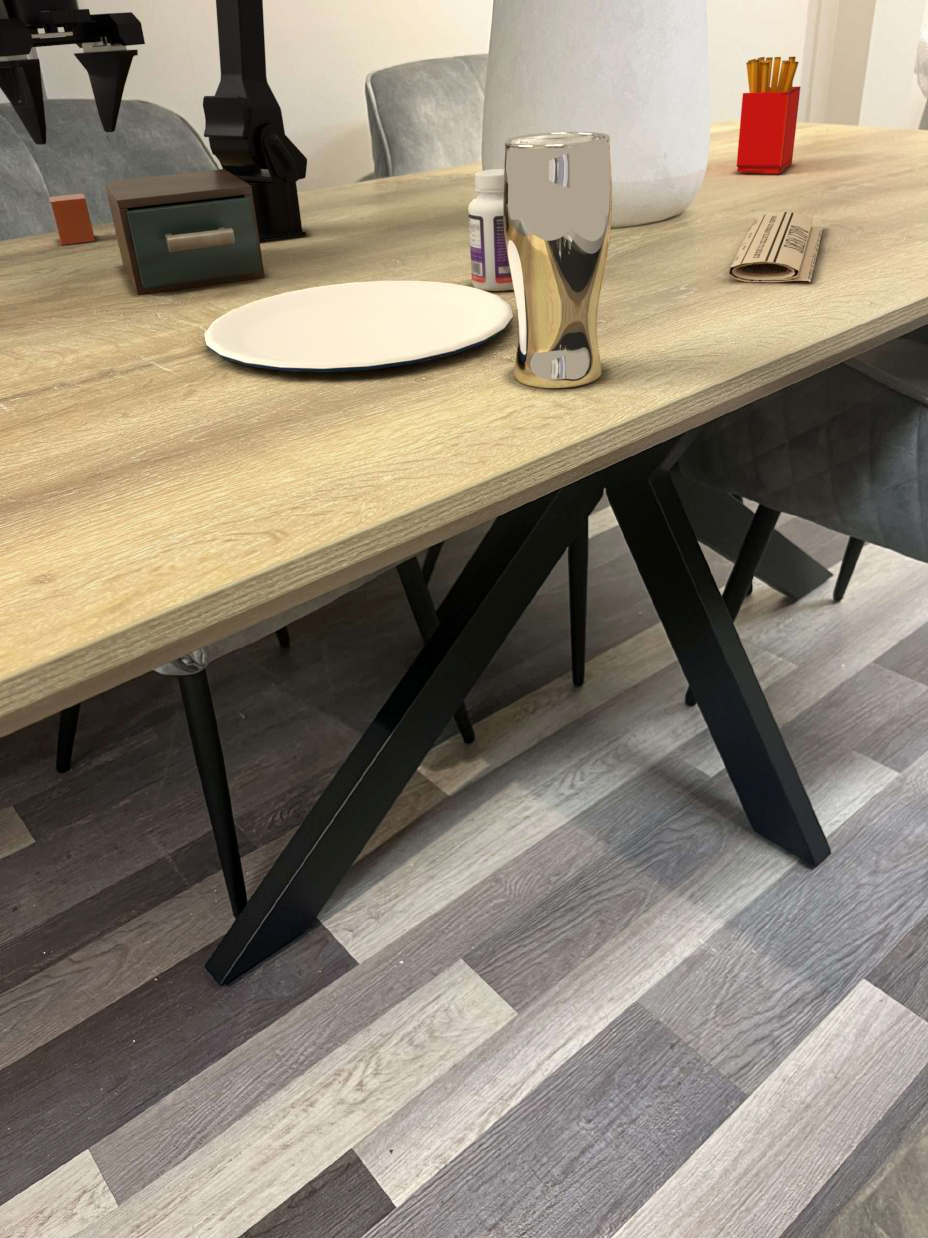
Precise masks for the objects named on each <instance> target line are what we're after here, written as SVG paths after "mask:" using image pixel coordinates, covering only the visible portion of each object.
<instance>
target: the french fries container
mask: <svg viewBox="0 0 928 1238" xmlns="http://www.w3.org/2000/svg"><path fill="white" fill-rule="evenodd" d="M773 60H774V61H773ZM781 60H782V57H781V56H774V59H773V57H770V56H769V57H765V56H761V57H757V58H753V59H749V60H747V61H746V62H745V65H746V73H747V82H748V83H747V84H748V92H743V93H742V98H741V99H742V100H741V109H740V120H739V122H740V123H739V134H738V144H737V157H736V168H737V170H736V172H737V173H741V174H781V173H783V172H784V171H786V169H787V168H789V167H790V166H791V165H792V164H793V157H794V150H795V148H794V147H795V139H796V130H797V123H798V122H797V121H798V112H799V105H800V94H801V87H802V86H793V85H794V84H793V83H794V79H795V75H796V72H797V69H798V66H799V63H800V62H799V61H797V60H796V56H788V59H785V60H782V61H781Z"/></svg>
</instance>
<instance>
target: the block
mask: <svg viewBox="0 0 928 1238" xmlns="http://www.w3.org/2000/svg"><path fill="white" fill-rule="evenodd" d="M49 202H50V206H51V210H52V213H53V214H52V215H53V218H54V222H55V225H56V229H57V234H58V238H59V241H60V245H61V246H67V245H74V244H75V245H76V244H85V243H91V242H96V238H95V234H94V229H93V226H92V221H91V216H90V213H89V209H88V208H89V207H88V204H87V200H86V196H85V195H84V193H75V194H66V195H56V196H49Z"/></svg>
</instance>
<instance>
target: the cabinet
mask: <svg viewBox="0 0 928 1238" xmlns="http://www.w3.org/2000/svg"><path fill="white" fill-rule="evenodd" d="M104 186H105V191H106V196H107V201H108V204H109V209H110V214H111V218H112V221H113V226H114V231H115V235H116V240H117V245H118V248H119V254H120V257H121V262H122V266H123V269H124V270H125V272H126V275H127V276H128V278H129V280H130V283H131V285H132V286H133V288H134V290H135V293H136V294H137V295H139V296H140V295H145V294H153V293H161V292H167V291H174V290H180V289H181V290H182V289H188V288H197V287H202V286H203V287H205V286H211V285H218V284H225V283H233V282H239V281H246V280H255V279H260V278H265V277H266V274H265V269H264V268H265V267H264V261H263V254H262V249H261V241H259V234H258V228H257V221H256V215H255V208H254V202H253V195H252V189H251V185H249V184H247V183H246V182H244V181H243V180H241V179H239V178H238V177H236V176H235V175H233V174H231V173H230V172H228V171H227V170H225V169H223V168H219V169H210V170H201V171H190V172H181V173H172V174H163V175H161V174H160V175H153V176H152V175H151V176H144V177H143V176H142V177H134V178H124V179H123V178H122V179H115V180H105V181H104ZM233 196H235V197H237V198H243V197H248V198H249V199H250V203H251V209H252V216H253V222H254V228H255V235H256V241H257V248H258V254H259V261H260V267H261V272H257V273H250V274H243V275H235V276H228V277H221V278H213V279H206V280H199V281H191V282H184V283H177V284H169V285H162V286H155V287H148V288H144V287H143V285H142V281H141V276H140V271H139V267H138V262H137V258H136V253H135V248H134V244H133V239H132V235H131V230H130V225H129V221H128V216H127V211H128V209H127V208H136V207H144V206H153V205H162V204H171V203H180V202H189V201H197V200H206V199H215V198H224V197H233Z"/></svg>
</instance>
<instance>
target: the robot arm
mask: <svg viewBox="0 0 928 1238" xmlns="http://www.w3.org/2000/svg"><path fill="white" fill-rule="evenodd" d="M215 8H216V9H215V10H216V24H217V37H218V40H217V41H218V53H219V55H218V56H219V68H220V79H219V83H218V86H217V89H216V91H215V94H214V95H204V96H203V98H202V109H203V114H204V119H205V126H204V132H203V137H204V138H208V143H209V148H210V151H211V153H212V155H213V156H215V158H216V159H217V160H218V161H219V164H220V166H221V169H225V170H227V171H228V172H230V173H231V174H233V175H235V176H236V177H238V178H239V179H241V180H243V181H244V182H246V183H247V184H249V185H251V189H252V195H253V202H254V208H255V215H256V221H257V228H258V234H259V241H260V242H264V241H271V240H280V239H288V238H294V237H304V236H306V235H307V230H306V229H304V228H303V225H302V216H301V210H300V203H299V202H300V201H299V195H298V187H297V182H298V181H299V180H303V179H306V176H307V168H308V167H307V166H308V158H307V157H306V156H305V154H303V152H302V151H301V150H300V149H299V148H298V147H297V146H296V145H295V144H294V142H293V141H291V139H290V138H289V137H288V136H287V134H286V130H285V124H284V118H283V112H282V108H281V106H280V104H279V102H278V100H277V98H276V96H275V95H274V92H273V90H272V88H271V86H270V84H269V82H268V78H267V62H266V61H267V60H266V41H265V19H264V0H215ZM59 28H63V31H59ZM40 29H41V30H42V29H43V31H44V33H40V32H39V30H40ZM65 45H68V46H69V45H76V46H77V47H78V48H79V49H82V52H75V53H73V56H74V57H75V58H76V59H77V61H78V62H79V63H80V64H81V65H82V67H83V68H84V69H85V71H86V72H87V74H88V79H89V82H90V86H91V90H92V94H93V98H94V101H95V107H96V110H97V113H98V118H99V121H100V122H101V126H102V129H103V131H104V133H114V132H115V131H116V127H117V124H118V123H117V122H118V119H119V114H120V110H121V104H122V101H123V100H122V99H123V94H124V92H125V91H124V90H125V87H126V83H127V79H128V77H129V74H130V73H129V72H130V70H131V66H132V63H133V59H134V57H135V56H139V51H138V49H128V48H127V47H128V46H129V47H130V46H138V45H139V46H140V45H146V42H145V36H144V31H143V26H142V22H141V20H139V18H138V17H137V16H136V15H135V14H134V13H133V11H129V12H128V11H127V12H111V13H110V12H109V13H107V12H106V13H96V14H91V12H90V8H80V7H79V2H78V0H0V90H1V91H2V93H3V94H4V95H5V97H6V98H7V100H8V101H9V104H10V105H11V106H12V108H13V110H14V112H15V114H17V116H18V118H19V120H20V121H21V123H22V124H23V127H24V128H25V130H26V131H27V133H28V134H29V136H30V138H31V139H32V141H33V143H34V144H35V145H39V146H40V145H41V146H43V145H46V144H47V121H46V111H45V102H44V92H43V91H44V90H43V84H42V83H43V82H42V81H43V80H42V71H41V62H40V58H28V55H30V54H31V50H32V49H33V48H42V47H53V46H65Z"/></svg>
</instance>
